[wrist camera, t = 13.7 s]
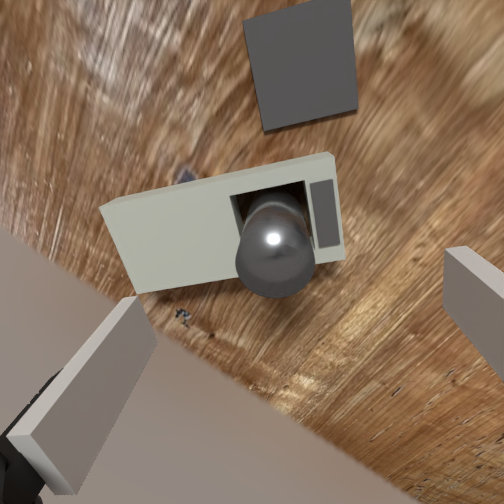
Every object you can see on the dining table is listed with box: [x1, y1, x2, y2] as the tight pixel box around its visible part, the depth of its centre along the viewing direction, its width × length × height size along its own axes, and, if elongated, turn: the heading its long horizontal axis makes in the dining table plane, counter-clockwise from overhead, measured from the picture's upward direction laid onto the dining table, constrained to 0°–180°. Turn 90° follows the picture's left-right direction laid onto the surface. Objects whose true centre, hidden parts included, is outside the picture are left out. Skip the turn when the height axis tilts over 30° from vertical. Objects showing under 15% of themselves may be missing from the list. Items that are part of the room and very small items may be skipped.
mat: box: [242, 0, 359, 131], centre depth 21 cm, size 7×7×1 cm
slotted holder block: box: [99, 151, 346, 294], centre depth 25 cm, size 8×18×3 cm, turn 103°
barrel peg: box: [235, 186, 315, 298], centre depth 21 cm, size 4×4×10 cm
